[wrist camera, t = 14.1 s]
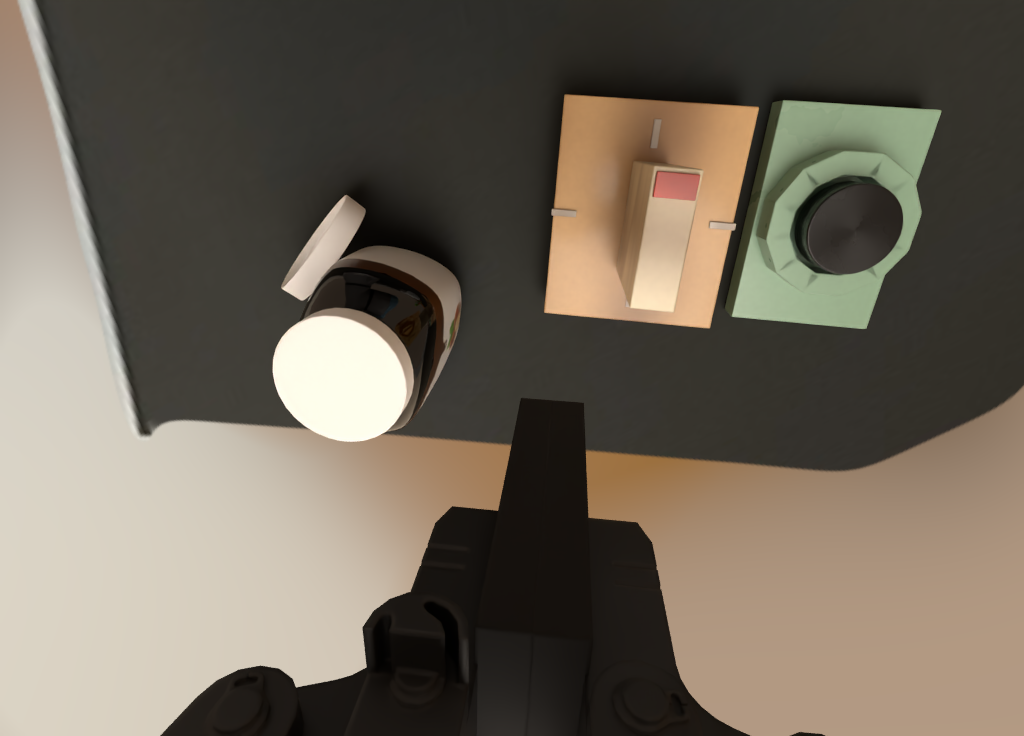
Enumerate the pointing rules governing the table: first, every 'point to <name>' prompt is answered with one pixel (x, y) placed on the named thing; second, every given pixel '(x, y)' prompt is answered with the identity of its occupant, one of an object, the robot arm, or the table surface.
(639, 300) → the dial
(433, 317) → the spread jar
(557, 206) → the dial panel
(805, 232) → the button
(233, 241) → the table surface
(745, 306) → the button box
